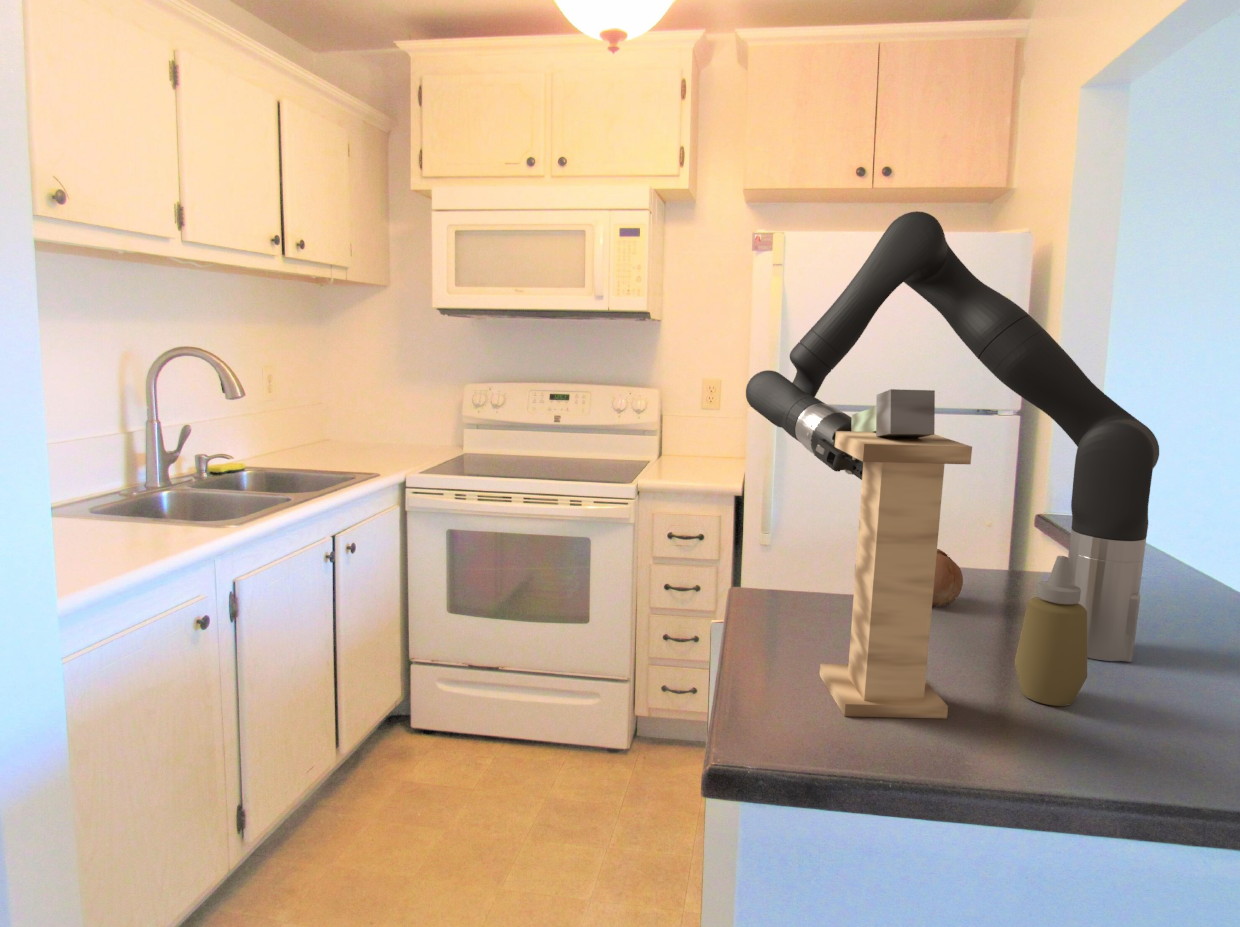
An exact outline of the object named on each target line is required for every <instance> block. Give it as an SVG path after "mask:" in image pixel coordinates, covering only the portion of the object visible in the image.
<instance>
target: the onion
mask: <svg viewBox="0 0 1240 927" xmlns="http://www.w3.org/2000/svg"><path fill="white" fill-rule="evenodd" d="M963 585H964V578H963V572H962V569H961V567H959V565H958V564H957V563H956V562H955V561H954V560H953V559H952V558H951V556H949V555H948V554H947V553H946V552H945V551H943V550H941V549H939V548H937V555H936V567H935V578H934V589H933V601H932V607H941V606H942V607H943V606H946V607H947V606H949V605H950V604H951V603H953V602H954V601H956V598H957V597H959V596H960V595H961V591H962V589H963Z"/></svg>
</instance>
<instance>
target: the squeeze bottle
mask: <svg viewBox="0 0 1240 927" xmlns="http://www.w3.org/2000/svg"><path fill="white" fill-rule="evenodd" d="M1080 594H1081V589H1080V588H1079V587H1077V586H1075V585H1072V584H1071V576H1070V569H1069V561H1068V556H1065V555H1057V556H1056V558H1055V562H1054V564H1053V567H1052V570H1051V572H1050V574H1049V577H1048V580H1043V581H1040V582H1038V584H1037V593H1036V597H1034V598H1032V599H1030V600H1029V601H1027V604H1026V609H1025V614H1024V618H1023V622H1022V625H1021V626H1022V627H1021V632H1020V635H1019V641H1018V644H1017V649H1016V654H1015V656H1014V657H1015V658H1014V665H1015V669H1016V675H1017V679H1018V683H1019V687H1020V691H1021V694H1022V695H1023V696H1025V697H1026V698H1028V699H1030V700H1031V701H1034V702H1037V703H1039V704H1043V705H1049V706H1054V707H1057V706H1058V707H1065V706H1070V705H1072V704H1073V703H1074V702H1075V700H1076V699H1077V697H1078V694H1079V693H1080V691H1081V689H1082V687H1083V685H1084V683H1085V682H1086V681H1087V678H1088V657H1087V611H1086V609H1085V608H1084V607H1083V606H1082V605H1080V604H1079V603H1078V602H1080Z"/></svg>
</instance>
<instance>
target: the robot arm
mask: <svg viewBox="0 0 1240 927" xmlns="http://www.w3.org/2000/svg"><path fill="white" fill-rule="evenodd" d="M903 283H904V284H905V285H906V286H908V287H909V288H910V289H912V290H913V291H915V292H916V293H917V294H918V295H919V296H920V297H922V298H923V299H924V300H925V301H926V302H928V303H929V304H930V305H931V306H932V307H933V308H934V309H936V311H937V312H938V313H940V314H941V316H942V317H943V318H944V319H945V320H946V322H947V324H949V326H950V327H951V329H952V330H953V331H954V333H955V334H956V335H957V336H958V337H959V339H960V340H961V341H962V342H963V344H965V346H966V347H967V348H968V349H969V350H970V351H971V353H972V354H974V356H975V357H976V358H977V359H978V360H979V361H980V362H981V363H982V365H984V367H986V368H987V370H988V371H989V372H990V373H991V374H992V375H994V377H996V378H997V380H999V381H1000V382H1001V383H1002V384H1003V385H1005V386H1006V387H1007V388H1009V389H1010V390H1011V391H1013V392H1014V393H1015V394H1016V395H1018V396H1020V397H1021V398H1023V399H1024V400H1025V401H1027V402H1028V403H1030V404H1031V405H1033V406H1034V407H1036V408H1037V409H1039V410H1040V411H1042V412H1043V413H1044V414H1046V415H1047V416H1048V417H1050V418H1051V419H1052V420H1053V421H1054V422H1055V423H1057V425H1058V426H1059V428H1061V429H1062V430H1063V431H1064V433H1066V435H1067V436H1068V437H1069V438H1070V439H1071V441H1072V442H1073V443H1074V444H1075V445H1076V447H1077V449H1076V454H1075V460H1074V468H1073V469H1074V470H1073V481H1072V491H1071V501H1070V508H1071V516H1072V517H1071V520H1072V521H1071V527H1070V528H1071V529H1070V539H1069V546H1068V555H1067V557H1068V561H1069V569H1070V576H1071V584H1072V585H1075V586H1077V587H1079V588H1080V589H1081V594H1080V602H1078V603H1079V604H1080V605H1082V606H1083V607H1084V608H1085V609H1086V611H1087V659H1088V658H1089V659H1094V660H1100V661H1109V662H1120V661H1121V662H1128V663H1133V655H1134V650H1135V642H1136V635H1137V634H1136V633H1137V625H1138V620H1139V618H1138V617H1139V610H1140V609H1139V608H1140V604H1141V594H1140V593H1141V591H1140V590H1141V582H1142V577H1143V576H1142V574H1143V568H1144V567H1143V566H1144V559H1145V552H1146V545H1147V544H1146V542H1147V536H1148V529H1149V503H1150V494H1151V486H1152V479H1153V478H1152V477H1153V472H1154V471H1153V470H1154V468H1155V467H1156V466H1157V464H1158V461H1159V458H1160V445H1159V442H1158V439H1157V436H1156V435H1155V433H1153V431H1152V430H1151V429H1150V428H1149V427H1148V426H1147V425H1146V424H1144V423H1143V422H1142V421H1141V420H1139V419H1137V418H1136V417H1135V416H1133V415H1132V414H1131V413H1129V412H1128V411H1126V409H1124V408H1123V407H1122V406H1120V405H1119V404H1118V403H1117V402H1115V401H1114V400H1113V399H1112V398H1110V397H1109V396H1108V395H1107V394H1106V393H1104V392H1103V391H1102V390H1101V389H1100V388H1099V387H1097V386H1096V384H1095V383H1093V382H1092V380H1091V379H1090V378H1088V376H1087V375H1086V374H1085V372H1084V371H1083V370H1082V368H1080V367H1079V365H1078V364H1077V363H1076V362H1075V361H1074V360H1073V358H1072V357H1071V356H1070V355H1069V354H1068V353H1067V352H1066V350H1064V349H1063V347H1062V346H1061V345H1060V344H1059V343H1058V342H1057V341H1056V340H1055V338H1053V337H1052V336H1051V334H1049V332H1047V331H1046V330H1045V329H1044V328H1043V327H1042V326H1041V325H1040V324H1039V323H1038V321H1037V320H1036V319H1034V318H1033V317H1032V316H1031V315H1030V314H1029V312H1027V311H1026V310H1024V309H1023V308H1022V307H1020V305H1018V304H1017V303H1016V302H1015V301H1012V300H1011V299H1010V298H1008V297H1007V296H1005V295H1003V294H1002V293H1000V292H999V291H998V290H995V289H993V288H991V287H990V286H988V285H987V284H986V283H984V282H983V281H981V280H980V279H978V277H976V276H975V274H973V273H972V272H971V271H970V269H968V268H967V266H966V265H965V263H963V262H962V261H961V259H960V258H959V257H958V256H957V255H956V253H955V252H954V250H952V248H951V247H950V245H949V243H948V242H947V240H946V235H945V232H944V229H943V226H942V225H941V223H940V221H939V220H938V219H937V218H936V217H935V216H933V215H932V214H930V213H928V212H924V211H910V212H907V213H904V214H902V215H900V216H898V217H897V218H895V219H894V220H892V222H891V223H890V224H889V225H888V227H887V228H886V230H885V231H884V233H883V234H882V236H881V237H880V239H879V240H878V242H877V243H876V245H875V246H874V248H873V249H872V251H871V252H870V254H869V255H868V258H867V259H866V260H865V262H864V263H863V264H862V266H861V268H859V270H858V271H857V273H856V274H855V275H854V277H853V278H852V279H851V281H850V282H849V284H847V286H846V287H845V288H844V290H843V291H842V292H841V294H840V295H839V296H838V297H837V298H836V300H835V301H834V302H833V303H832V304H831V306H830V307H829V308H828V309H827V310H826V311H825V313H823V315H822V316H821V317H820V318H819V319H818V320H817V321H816V322H815V324H813V325H812V327H811V328H810V329H809V330H808V331H807V332H806V333H805V335H803V336H802V338H801V339H800V340H799V341H798V342H797V343H796V344H795V346H793V348H792V350H791V351H790V353H789V361H790V362H791V363H792V365H793V366H794V367H795V371H796V374H795V376H794V379H793V381H791V380H789V379H788V378H787V377H785V376H784V375H782V374H781V373H780V372H779V371H775V370H770V369H767V370H762V371H759V372H757V373H755V374H754V375H753V376H752V377H751V378H750V379H749V380H748V382H747V384H746V388H745V397H746V401H747V403H748V405H749V406H750V407H751V408H752V409H753V410H754V411H756V412H757V413H758V414H760V415H761V416H762V417H764V418H765V419H766V420H768V421H769V422H770V423H772V424H773V425H774V426H776V427H777V428H782V430H784V431H785V432H786V433H787V434H788V435H789V436H791V437H792V438H793V439H794V440H796V441H798V442H799V444H801V445H802V446H803V447H804V448H805V449H806V450H807V451H809V452H810V453H811V454H813V456H815V458H817V459H818V460H820V461H821V462H822V463H823V464H824V465H826V466H827V467H829V468H830V469H831V470H833V472H839V473H840V472H841V471H844V472H845V473H846V474H847V475H854V476H855V477H856V478H857V479H859V480H861V481H862V474H863V462H862V461H860V460H859V459H857V458H855V457H853V456H851V455H849V454H847V453H845V452H843V451H842V450H840V449H838V448H836V447H835V435H836V431H851V423H852V416H850V415H849V414H847V413H845V412H844V411H842V410H840V409H838V408H837V407H834V406H832V405H828V404H826V403H825V402H824V401H821V400H820V399H819V398H817V397H816V396H817V394H818V392H819V390H820V389H821V387H822V385H823V383H824V381H825V379H826V378H827V376H828V375H829V374H830V373H831V372H832V370H833V369H835V367H836V366H838V364H839V363H840V362H842V360H843V359H844V357H846V356H847V355H848V354H849V352H850V351H851V350H852V349H853V347H854V346H855V345H856V343H857V342H858V340H859V339H860V338H861V336H862V335H863V333H864V332H865V331H866V329H867V327H868V325H869V323H870V322H871V320H872V319H873V317H874V316H875V314H876V313H877V312H878V310H879V309H880V308H881V306H882V305H883V303H884V302H886V300H887V299H888V298H889V297H890V296H891V294H892V293H894V291H896V289H897V288H898V287H900V286H901V285H902V284H903Z"/></svg>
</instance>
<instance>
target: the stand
mask: <svg viewBox="0 0 1240 927" xmlns="http://www.w3.org/2000/svg"><path fill="white" fill-rule="evenodd" d="M835 447H836V448H838V449H840V450H842V451H843V452H845V453H847V454H849V455H851V456H853V457H855V458H857V459H859V460H860V461H862V462H863V474H862V480H861V488H860V489H861V492H860V503H859V515H858V516H859V518H858V530H857V544H856V545H857V546H856V555H855V557H856V559H855V571H854V572H855V573H854V585H853V601H852V614H851V615H852V616H851V625H850V626H851V628H850V642H849V654H848V655H849V656H848V664H846V663H845V664H844V663H820V664H819V676H820V678H821V681H822V682H823V683H824V684H825V686H826V689H827V690H828V691H829V693H830V695H831V696H832V698H833V700H834V701H835V703H836V704H837V706H838V709H839V710H840V712H841V713H842V715H843V716H844V717H856V718H857V717H859V718H861V717H865V718H903V719H904V718H905V719H912V718H913V719H914V718H915V719H948V711H949V705H947V704H946V702H945V701H944V700H943V699H942V698H941V697H940V695H939V694H938V693H937V692H936V691H935V690H934V688H932V686H931V685H930V684H929V683H928V682H927V681H926V680H927V679H926V678H927V668H928V656H929V644H930V635H931V634H930V632H931V621H932V620H931V619H932V613H933V612H932V611H933V610H932V609H933V606H932V601H933V589H934V578H935V567H936V555H937V549H938V543H939V532H940V531H939V530H940V520H941V508H942V498H943V497H942V496H943V483H944V474H945V465H971V463H972V455H973V454H972V453H973V446H971V445H968V444H965V443H962V442H959V441H955V440H953V439H950V438H947V437H944V436H940V435H937V434H935V433H934V435H929V436H924V437H919V438H906V437H876V432H856V431H836V435H835Z"/></svg>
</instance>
